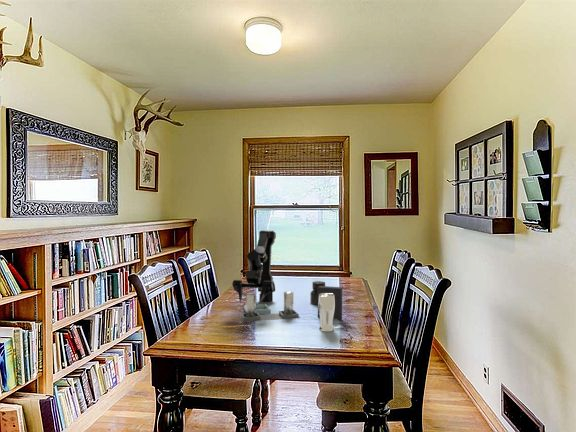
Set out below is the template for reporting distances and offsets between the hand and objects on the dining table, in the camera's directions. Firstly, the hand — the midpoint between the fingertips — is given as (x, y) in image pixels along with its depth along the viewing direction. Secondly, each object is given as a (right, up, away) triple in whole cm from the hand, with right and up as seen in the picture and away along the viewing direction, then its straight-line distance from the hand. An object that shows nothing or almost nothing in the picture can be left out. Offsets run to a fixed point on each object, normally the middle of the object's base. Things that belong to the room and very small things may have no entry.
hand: (249, 301), depth 187 cm
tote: (+2, -9, +14) cm, 17 cm away
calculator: (+37, -9, +4) cm, 38 cm away
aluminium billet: (0, -8, +2) cm, 8 cm away
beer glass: (+34, -10, -13) cm, 37 cm away
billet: (+18, -8, +6) cm, 20 cm away
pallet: (+9, -9, +4) cm, 13 cm away
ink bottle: (+34, -9, +32) cm, 47 cm away
